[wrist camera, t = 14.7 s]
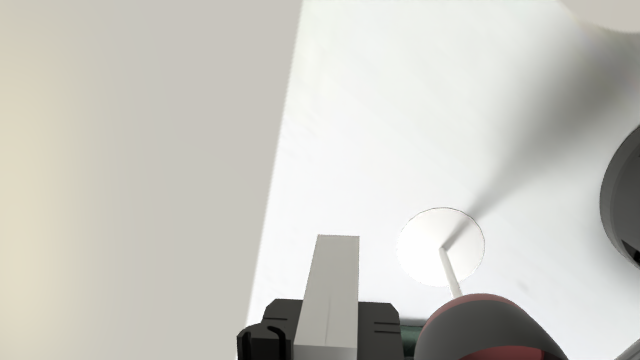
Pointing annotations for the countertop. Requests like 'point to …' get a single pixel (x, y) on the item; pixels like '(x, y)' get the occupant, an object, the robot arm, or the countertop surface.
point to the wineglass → (466, 296)
